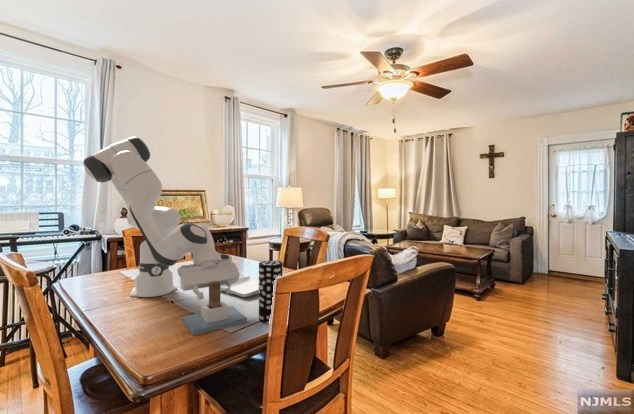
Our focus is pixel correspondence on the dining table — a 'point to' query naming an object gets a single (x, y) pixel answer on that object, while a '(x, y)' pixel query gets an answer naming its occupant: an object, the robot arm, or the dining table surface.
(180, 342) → the dining table surface
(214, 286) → the brown wooden peg
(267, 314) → the white-spotted black cylinder
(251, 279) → the salad plate
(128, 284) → the dining table surface
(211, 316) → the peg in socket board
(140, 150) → the robot arm
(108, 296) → the dining table surface
